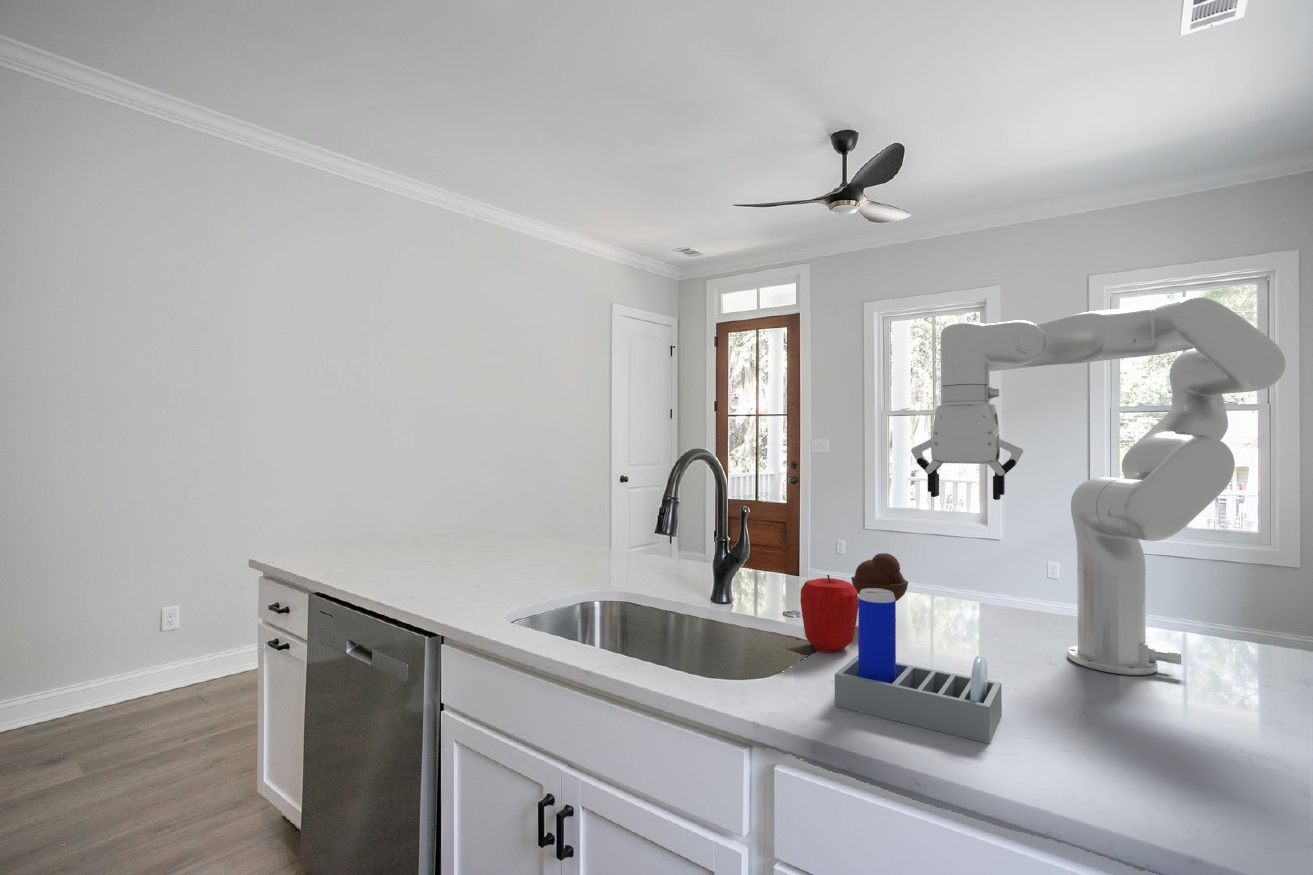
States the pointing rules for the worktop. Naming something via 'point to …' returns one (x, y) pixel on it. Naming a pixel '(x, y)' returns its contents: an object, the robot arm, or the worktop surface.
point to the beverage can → (877, 635)
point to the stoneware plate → (979, 680)
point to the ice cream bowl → (880, 575)
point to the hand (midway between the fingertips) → (965, 497)
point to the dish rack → (922, 700)
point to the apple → (829, 613)
